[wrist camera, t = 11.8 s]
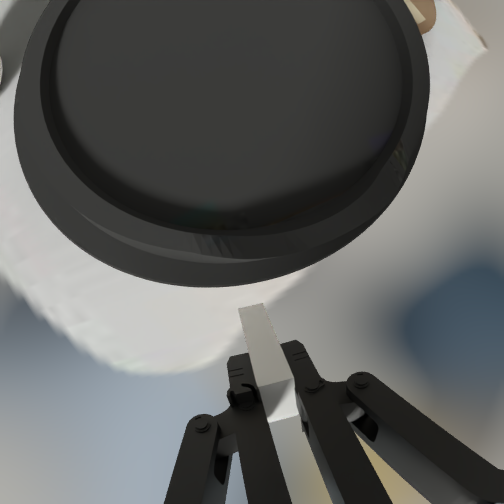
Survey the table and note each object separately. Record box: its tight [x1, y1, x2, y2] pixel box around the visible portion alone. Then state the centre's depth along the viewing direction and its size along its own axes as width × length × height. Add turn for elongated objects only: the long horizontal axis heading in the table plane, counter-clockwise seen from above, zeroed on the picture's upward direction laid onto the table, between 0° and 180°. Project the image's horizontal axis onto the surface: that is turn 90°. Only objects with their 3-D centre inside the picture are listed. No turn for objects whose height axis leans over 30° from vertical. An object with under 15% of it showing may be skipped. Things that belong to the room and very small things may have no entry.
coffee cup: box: [14, 0, 430, 287], centre depth 9 cm, size 9×9×15 cm
